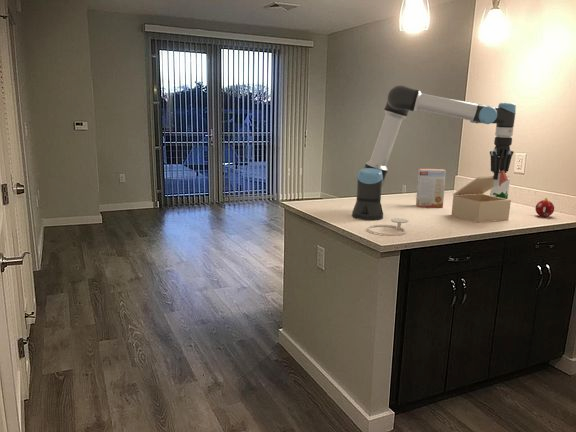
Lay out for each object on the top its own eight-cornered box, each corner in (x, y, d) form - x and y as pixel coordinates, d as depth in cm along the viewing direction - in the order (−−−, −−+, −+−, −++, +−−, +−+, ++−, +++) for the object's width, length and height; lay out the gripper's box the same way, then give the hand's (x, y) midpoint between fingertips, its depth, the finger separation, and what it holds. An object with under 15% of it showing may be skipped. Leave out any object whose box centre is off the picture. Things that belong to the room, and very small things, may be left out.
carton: (478, 222, 228) (480, 202, 226) (451, 214, 244) (453, 195, 242) (508, 219, 236) (510, 199, 234) (480, 212, 252) (482, 193, 250)
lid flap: (490, 180, 219) (487, 170, 221) (455, 203, 240) (452, 194, 242) (522, 179, 227) (518, 169, 229) (485, 201, 248) (482, 192, 250)
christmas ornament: (553, 216, 247) (556, 197, 245) (552, 219, 240) (555, 199, 238) (535, 214, 252) (537, 195, 249) (533, 216, 244) (536, 197, 242)
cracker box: (440, 206, 267) (444, 169, 263) (443, 208, 262) (446, 170, 257) (415, 204, 269) (418, 168, 264) (417, 207, 263) (420, 169, 258)
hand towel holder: (358, 220, 208) (392, 215, 220) (358, 229, 209) (391, 224, 221) (386, 228, 195) (420, 222, 206) (385, 238, 196) (419, 232, 207)
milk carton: (489, 210, 257) (493, 174, 253) (487, 207, 266) (491, 172, 262) (507, 212, 255) (511, 175, 251) (504, 208, 264) (508, 173, 259)
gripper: (498, 137, 217) (492, 188, 222) (521, 137, 223) (515, 186, 228) (485, 136, 224) (480, 185, 229) (508, 136, 229) (502, 184, 234)
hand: (497, 186), depth 228 cm, fingers closed on lid flap, 1 cm apart
